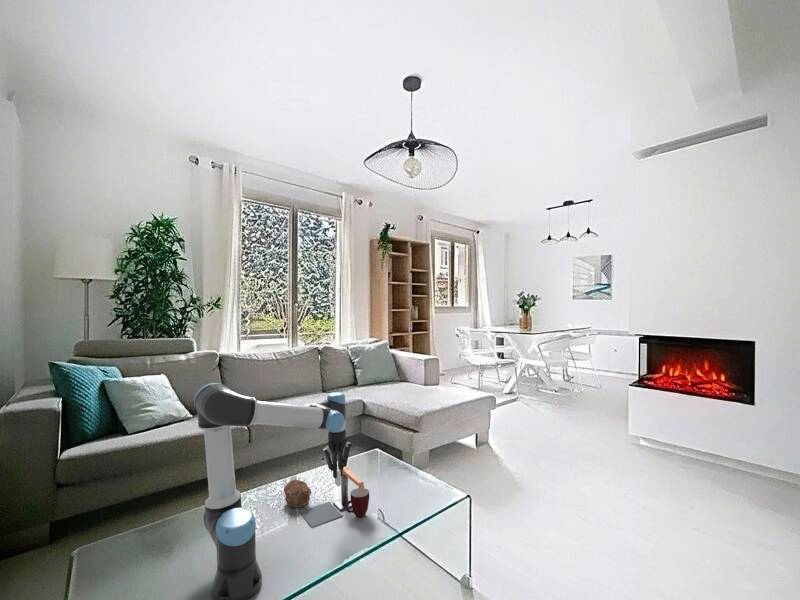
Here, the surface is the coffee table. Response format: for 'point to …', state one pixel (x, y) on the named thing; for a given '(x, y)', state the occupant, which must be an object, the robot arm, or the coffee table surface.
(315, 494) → the coffee table surface
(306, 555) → the coffee table surface
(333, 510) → the mat
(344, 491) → the clip post
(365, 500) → the mug
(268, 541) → the coffee table surface
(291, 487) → the decorative rock
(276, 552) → the coffee table surface
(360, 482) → the ball-ended drumstick
